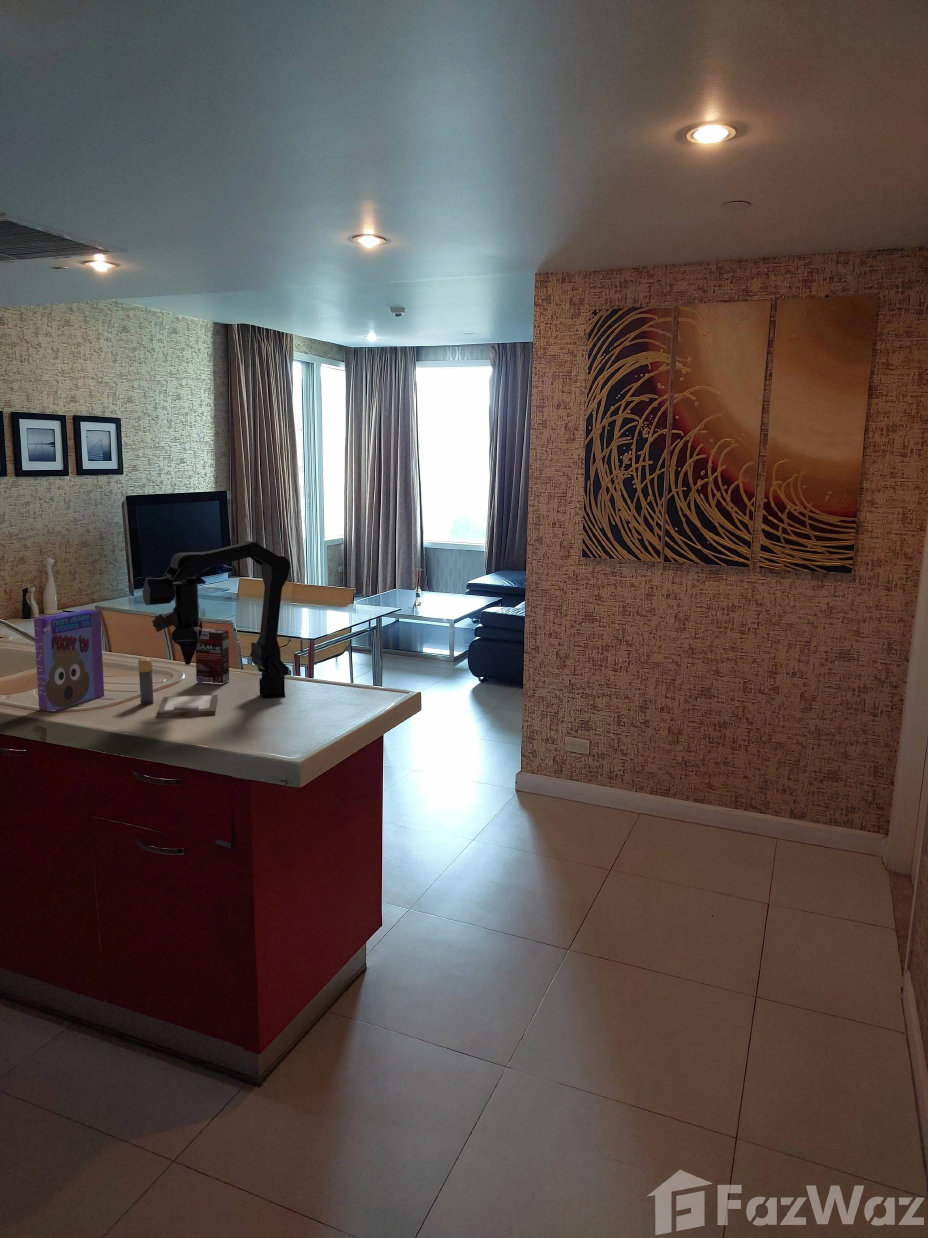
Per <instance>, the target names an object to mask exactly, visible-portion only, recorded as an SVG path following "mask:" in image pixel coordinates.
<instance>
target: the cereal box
mask: <svg viewBox="0 0 928 1238" xmlns="http://www.w3.org/2000/svg"><path fill="white" fill-rule="evenodd" d="M101 618H102V617H101V610H97V609H92V608H91V609H90V608H89V609H82V610H77V611H71V612H65V613H59V614H54V615H49V616H48V615H47V616H43V617H37V618H33V629H34V645H35V662H36V675H37V676H36V679H37V680H36V682H37V695H38V710H39V709H40V710H39V711H43V710H59V711H61V710H65V709H68V708H71V707H74V706H78V705H80V704H83V703H86V702H90V701H93V700H96V699H100V698H102V697H105V687H104V685H105V683H104V664H103V662H104V659H103V660H102V643H103V638H101V636H102V620H101Z"/></svg>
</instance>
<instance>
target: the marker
mask: <svg viewBox="0 0 928 1238" xmlns="http://www.w3.org/2000/svg"><path fill="white" fill-rule="evenodd" d="M137 660H138V661H137V662H138V675H139V676H138V677H139V698H140V705H141V706H150V705H153V704H154V687H153V686H154V685H153V683H154V682H153V659H152V658H145V657H144V658H139V659H137Z"/></svg>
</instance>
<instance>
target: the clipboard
mask: <svg viewBox="0 0 928 1238" xmlns="http://www.w3.org/2000/svg"><path fill="white" fill-rule="evenodd" d="M217 698H218V694H200V695H174V696H163V697H162V700H161V702H160V705H159V706H158V707H159V708H158V710H157V712H156V717H158V718H176V717H177V716H181V717H197V716H198V717H199V716H200V717H201V716H202V715H204V716H216V712H217V705H218V704H217V703H218V699H217ZM177 718H178V717H177Z"/></svg>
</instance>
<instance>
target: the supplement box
mask: <svg viewBox="0 0 928 1238" xmlns="http://www.w3.org/2000/svg"><path fill="white" fill-rule="evenodd" d="M229 634H230V633H229V630H228V629H225V630H224V629H216V628H215V629H211V628H203V630H202V633H201V636H200V639H199V642H198V644H197V647H196V650H195V672H196V673H195V675H196V676H195V677H196V678H195V680H196V681H197V682H212V683H222V684H223V683H225V682H227V681H229V682H230V639H229V637H230V636H229ZM196 681H195V682H196Z"/></svg>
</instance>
